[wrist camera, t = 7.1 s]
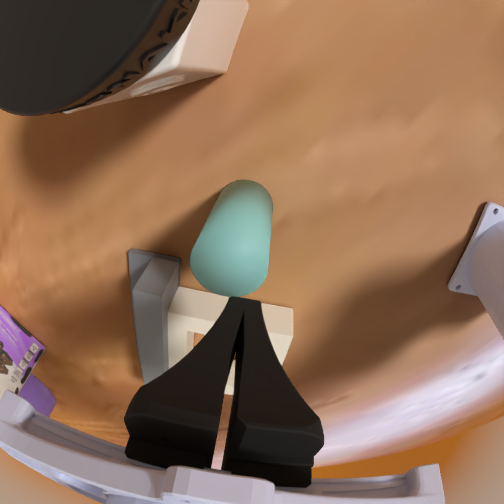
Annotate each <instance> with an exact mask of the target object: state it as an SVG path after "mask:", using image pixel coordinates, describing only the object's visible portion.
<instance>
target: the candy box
mask: <svg viewBox="0 0 504 504" xmlns="http://www.w3.org/2000/svg"><path fill="white" fill-rule="evenodd" d="M45 349H46V348H45V346H44V345H42V344H41V343H40V342H39V341H38V340H37V339H36V338H34V337H33V336H32V335H31V334H30V333H29V332H27V331H26V330H25V329H24V328H23V327H22V326H21V325H20V324H19V323H18V322H17V321H16V320H15V319H14V318H13V317H12V316H11V315H10V314H9V313H8V312H7V311H6V310H5V309H4V308H3V307H2V306H1V305H0V400H1V398H2V396H3V394H4V393H5V391H6V390H10V391H12V392H13V393H15V394H17V395H19V393H20V391H21V389H22V388H23V386H24V384H25V382H26V381H27V379H28V377H29V376H30V374H31V372H32V371H33V369H34V367H35V366H36V364H37V362H38V361H39V359H40V357H41V356H42V354H43V353H44V351H45Z"/></svg>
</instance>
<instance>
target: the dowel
mask: <svg viewBox="0 0 504 504" xmlns="http://www.w3.org/2000/svg"><path fill="white" fill-rule="evenodd" d="M272 212H273V203H272V199H271V196H270V194H269V193H268V191H267V190H266V189H265V188H264V187H263V186H262V185H260V184H259V183H257V182H254V181H251V180H237V181H234V182H232V183H230V184H228V185H227V186H226V187H225V188H224V189H223V190H222V191H221V193H220V195H219V197H218V199H217V201H216V203H215V205H214V207H213V209H212V211H211V213H210V215H209V217H208V219H207V221H206V223H205V225H204V227H203V229H202V231H201V233H200V235H199V237H198V239H197V241H196V243H195V245H194V247H193V249H192V252H191V256H190V266H191V270H192V272H193V275H194V276H195V278H196V279H197V281H198V282H199V283H200V284H201V285H202V286H203V287H205V288H206V289H207V290H209V291H211V292H213V293H215V294H218V295H221V296H226V297H231V296H235V297H239V296H244V295H247V294H250V293H252V292H254V291H255V290H257V289H258V288H259V287H260V286H261V285H262V284H263V282H264V280H265V279H266V276H267V272H268V262H269V250H270V238H271V225H272Z"/></svg>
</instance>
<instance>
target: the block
mask: <svg viewBox="0 0 504 504" xmlns="http://www.w3.org/2000/svg"><path fill="white" fill-rule="evenodd" d="M228 299H229V297H226V296H221V295H218V294H213V293H208V292H203V291H199V290H194V289H189V288H184V287H180V286H179V287H178V289H177V291H176V294H175V296H174V298H173V301H172V303H171V305H170V307H169V310H168V358H169V369H170V368H171V367H173V366H174V365H175V364H176V363H178V362H179V361H180V360H181V359H182V358H183V357H185V356H186V355H187V354H188V353H189V352H190V351H191V350H192V349H193V343H194V332H195V333H200V334H204V335H206V334H207V332H208V331H209V330H210V329H211V327H212V326H213V325H214V323H215V322H216V320H217V319H218V317H219V316H220V314H221V313H222V311H223V309H224V308H225V306H226V304H227V302H228ZM261 305H262V312H263V317H264V321H265V325H266V329H267V332H268V335H269V338H270V341H271V343H272V346H273V348H274V351H275V353H276V355H277V358H278V360H279V362H280V364H281V366H282V364H283V361H284V359H285V356H286V354H287V351H288V349H289V346H290V343H291V341H292V338H293V308H287V307H282V306H276V305H270V304H265V303H261ZM234 375H235V360H233V363H232V366H231V370H230V374H229V377H228V381H227V384H226V388H225V392H224V394H229V395H233V392H234Z"/></svg>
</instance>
